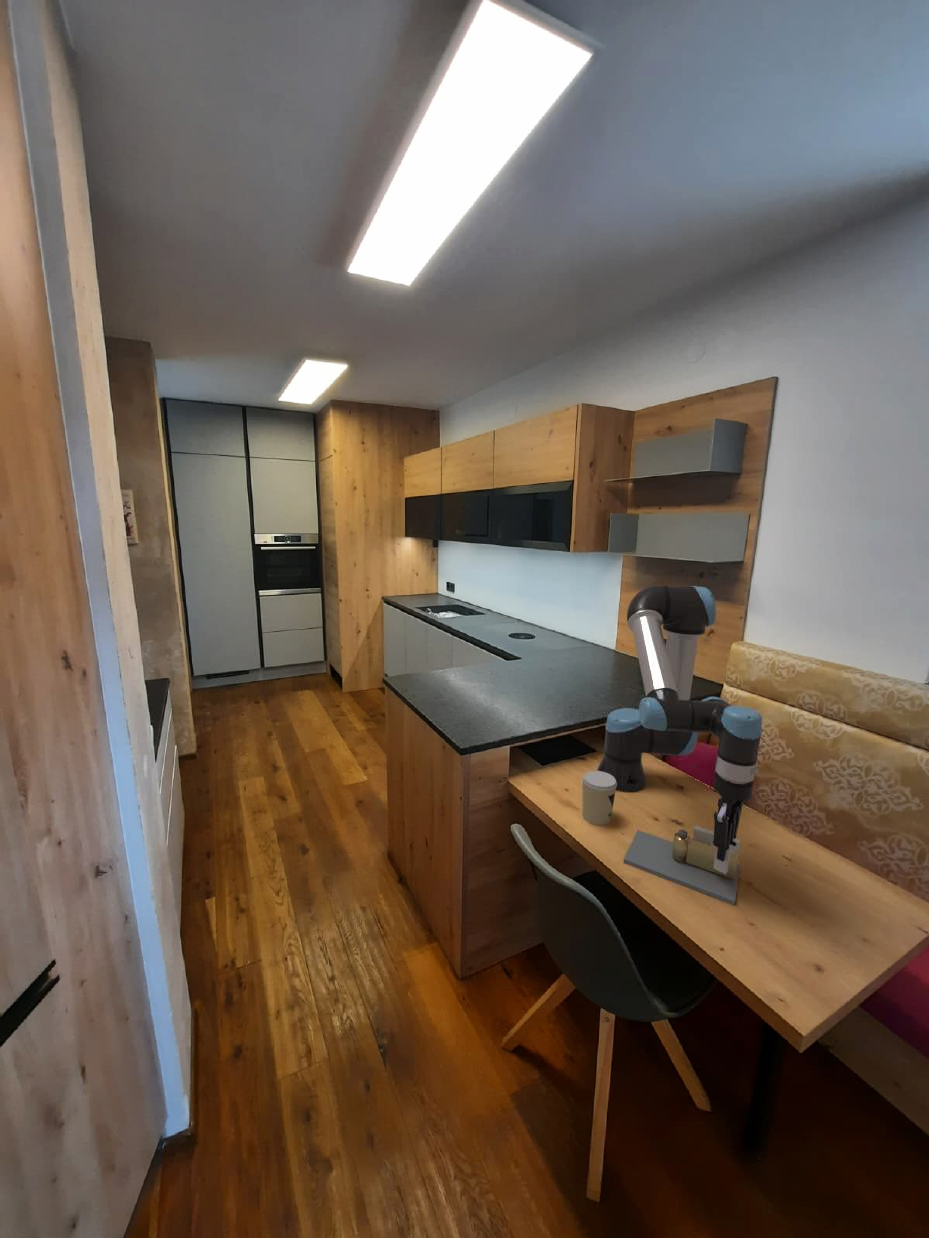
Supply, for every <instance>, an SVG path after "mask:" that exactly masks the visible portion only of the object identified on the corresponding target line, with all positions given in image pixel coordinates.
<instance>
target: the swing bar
mask: <svg viewBox="0 0 929 1238" xmlns="http://www.w3.org/2000/svg"><path fill="white" fill-rule="evenodd" d="M673 842H674V843H673V851H672V857H673V858H674V859H675V860H677V861H680V862H687V863H689V864H692V865H695V866H698V867H700V868H703V869H706V870H709V871H711V872H714V873H717V874H720V875H722V876H725V877H728V878H731V879H733V880H735V877H736V870H737V864H739V856H740V854H739V855H737V854H734V853H731V855H730V862H729V869H728V872H727V874H724V873H722V872H720V871H718V870H716V869H714V868H713V867H714V860H715V853H716V847H713V846H710V845H707V844H704V843H701V842H698V841H695V840H693V838H691V837H690V836H689V835H688V834H687V838H681V837H679V835H678V832H675V833H674V836H673Z"/></svg>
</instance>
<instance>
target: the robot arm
mask: <svg viewBox="0 0 929 1238" xmlns="http://www.w3.org/2000/svg"><path fill="white" fill-rule="evenodd" d="M626 611H627V612H626V621H627V626H628V629H629V630H630V631H631V632H633V639H634V644H635V649H636V653H637V658H638V663H639V668H640V674H641V677H642V682H643V688H644V693H645V697H644V698H642V699H641V700H640V702H639V706H638V708H639V709H638V708H637V709H635V708H632V707H631V708H629V707H627V708H626V707H624V708H618V709H614V710H613V711H611V712H610V713H608V715H607V719H606V723H605V736H604V737H605V738H604V748H603V749H604V751H603V756H602V758H601V760H600V762H599V764H598V766H597V769H596V771H602V772H606V773H608V774H610V775H612V776H613V777H614V778H615V779H616V782H617V787H616V791H619V792H625V793H628V792H629V793H630V792H631V793H634V792H638V791H641V790H642V789H644V787H645V786H646V775H645V773H646V772H645V771H644V770H645V769H644V766H643V762H642V760H643V759H642V758H643V754H655V755H668V756H674V757H675V756H676V757H678V756H688V755H689V754H691V753H693V751H694V750H695V748H696V745H697V742H698V737H699V734H700V733H701V734H713V735H714V736H715V738H717V739H718V740H719V741H718V749H717V755H716V762H715V773H714V777H713V778H714V779H713V789H714V790H715V792H717V793H718V794H719V796H720V798H718V802H717V807H718V809H717V811H714V812H713V819H714V820H713V821H714V822H713V823H714V825H713V832H714V841H713V845H714V846H716V853H715V860H714V867H713V868H714V869H716V870H718V871H720V872H722V873H724V874H727V872H728V869H729V862H730V855H731V848H732V846H730V845H733V846H736V844H737V843H736V842H734V841H733V839H737V834H738V827H739V824H740V819H741V816H742V815H741V814H742V810H743V806H744V803H745V801H747V800H750V799H751V797H752V794H753V789H754V787H753V786H754V780H755V774H758V773H759V769H758V768H756V765H757V760H758V754H759V748H760V742H761V737H762V733H763V727H762V725H763V717H762V714H761V713H760V712H759V711H757V710H755V709H752V708H749V707H746V706H741V705H732V704H731V703H729V702H728V701H726V700H724V699H722V698H720V697H718V696H708V697H706V698H704V699H702V700H690V698H691V693H692V691H691V690H692V684H693V677H694V672H695V671H694V670H695V664H696V657H697V648H698V642H699V639H700V637H703V635H705V633H706V627H707V628H709V627H711V626H713V625H714V623H715V621H716V617H717V607H716V601H715V597H714V595H713V593H712V591H711V590H710V589H708V588H707V587H704V586H695V585H669V584H667V585H662V584H653V585H649V586H647V587H645V588H643V589H640V591H639V592H637V593H636V594H635V595H634V596H633V598H632V599H631V601H630V602H629V605H628V608H627V610H626ZM663 631H664V632H665V633H666V641H665V636H664V634H663ZM698 733H699V734H698Z"/></svg>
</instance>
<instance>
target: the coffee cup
mask: <svg viewBox="0 0 929 1238" xmlns="http://www.w3.org/2000/svg"><path fill="white" fill-rule="evenodd" d="M581 781H582V817H583V819H584V820H585V821H587V822H588V823H590V824H592V825H595V826H596V825H597V826H605V825H608V824H610V822H611V820H612V813H613V808H614V802H615V796H616V795H615V794H616V791H617V790H616V787H617V782H616V779H615V778H614V777H613V776H612V775H610V774H608V773H606V772H602V771H597V770H589V771H587V772H585V773H583V776H582V780H581Z"/></svg>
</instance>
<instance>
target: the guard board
mask: <svg viewBox="0 0 929 1238" xmlns="http://www.w3.org/2000/svg"><path fill="white" fill-rule="evenodd" d="M677 833H678V835H679V837H681V838H687V835H688V831H687V830H686V829H682V828H681V829H678V832H677ZM692 840H695V841H698V842H701V843H704V844H707V845H710V846H713V847H716V846H714V845H713V841H714V830H709V829H707V828H703V827H700V826H698V825H694V829H693V836H692ZM733 841H734V842H736V843H737V844H736V846H733V845H730V846H732V848H731V853H734V854H737V855H739V856H740V854H739V853H740V848H741V839H738V838H735V839H733ZM673 843H674V841H671V840H668V839H664V838H662V837H659V836H656V835H653V834H651V833H648V832H645V831H642V830H640V829H637V830H636V833H635V835H634V837H633V839H632V841H631V843H630V845H629V847H628V850H627V851H626V853H625V856H624V858H623V863H624V864H626V865H628V866H631V867H634V868H637V869H639V870H642V871H644V872H647V873H650V874H652V875H655V876H657V877H659V878H662V879H664V880H667V881H670V882H673V883H675V884H677V885H681V886H683V887H686V888H688V889H692V890H694V891H696V892H698V893H701V894H704V895H706V896H709V897H711V898H714V899H717V900H719V901H721V902H725V903H727V904H730V905H732V906H735V904H736V898H737V897H736V896H737V889H738V888H737V887H738V881H739V880H738V879H739V871H740V864H739V863H737V870H736V877H735V880H733V879H731V878H728V877H725V876H722V875H720V874H717V873H714V872H711V871H709V870H706V869H703V868H700V867H698V866H695V865H692V864H689V863H687V862H680V861H677V860H675V859H674V858H673V857H672V851H673Z"/></svg>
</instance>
